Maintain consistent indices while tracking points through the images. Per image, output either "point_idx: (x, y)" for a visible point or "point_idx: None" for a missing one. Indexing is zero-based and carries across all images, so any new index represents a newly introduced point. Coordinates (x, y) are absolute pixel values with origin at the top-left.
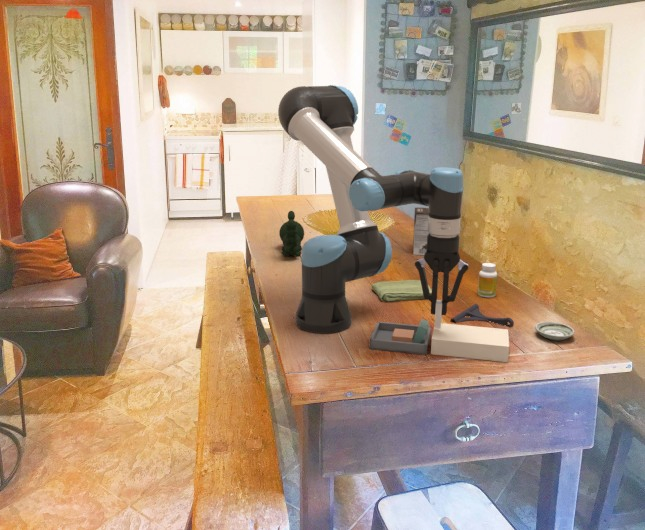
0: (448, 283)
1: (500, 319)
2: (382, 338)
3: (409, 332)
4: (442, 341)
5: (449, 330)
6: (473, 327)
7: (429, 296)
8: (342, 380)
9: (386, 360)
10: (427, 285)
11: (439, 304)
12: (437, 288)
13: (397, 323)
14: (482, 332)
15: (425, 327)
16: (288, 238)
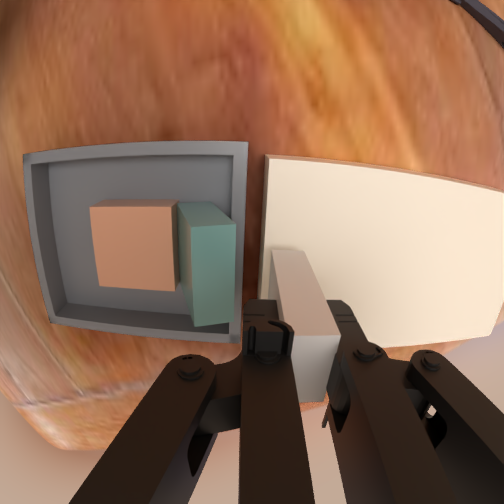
0: (434, 484)
1: (497, 26)
2: (73, 238)
3: (153, 237)
4: None
5: (340, 250)
6: (443, 194)
7: (221, 424)
8: (90, 433)
9: (131, 366)
10: (177, 480)
11: (304, 399)
12: (303, 430)
13: (89, 147)
14: (462, 243)
15: (223, 312)
16: None
